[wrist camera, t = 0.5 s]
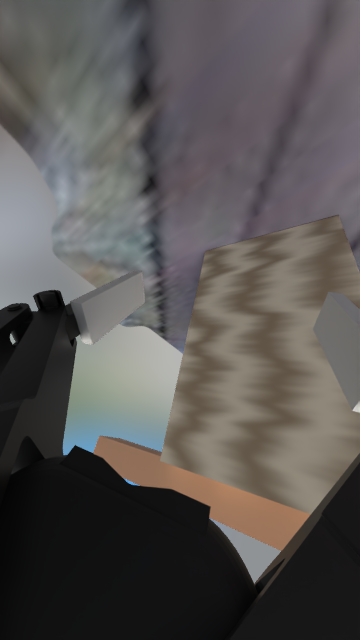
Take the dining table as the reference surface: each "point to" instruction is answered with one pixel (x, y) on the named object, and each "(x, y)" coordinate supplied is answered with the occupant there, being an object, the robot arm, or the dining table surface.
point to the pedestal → (266, 369)
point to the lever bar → (205, 492)
